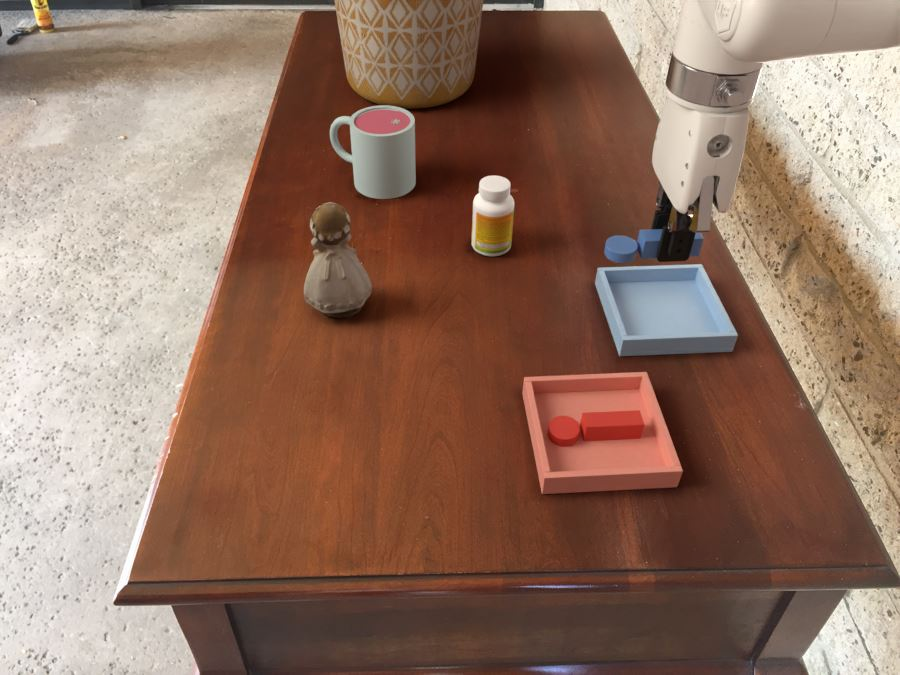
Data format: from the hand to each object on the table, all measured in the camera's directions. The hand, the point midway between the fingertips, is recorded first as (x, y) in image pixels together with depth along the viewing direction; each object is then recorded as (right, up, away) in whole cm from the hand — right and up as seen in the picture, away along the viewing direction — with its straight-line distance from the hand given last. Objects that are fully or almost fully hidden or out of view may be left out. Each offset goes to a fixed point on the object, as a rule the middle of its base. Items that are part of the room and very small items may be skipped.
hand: (667, 250), depth 79 cm
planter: (-29, +37, +62) cm, 78 cm away
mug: (-34, +15, +38) cm, 53 cm away
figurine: (-36, -6, +16) cm, 39 cm away
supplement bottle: (-17, +3, +26) cm, 31 cm away
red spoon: (-7, -19, +1) cm, 20 cm away
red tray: (-7, -19, +2) cm, 21 cm away
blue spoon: (-2, 0, 0) cm, 2 cm away
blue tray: (+4, -6, +16) cm, 17 cm away
